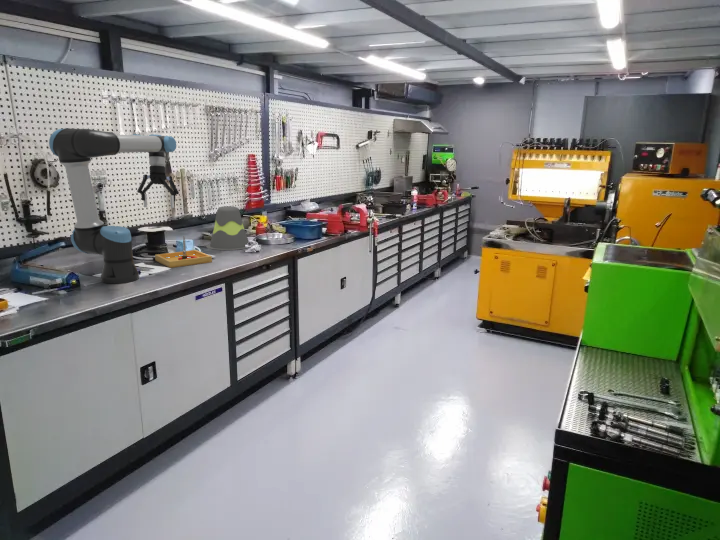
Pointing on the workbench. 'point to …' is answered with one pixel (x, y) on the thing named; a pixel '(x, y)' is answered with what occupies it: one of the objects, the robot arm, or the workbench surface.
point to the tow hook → (185, 251)
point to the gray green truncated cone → (228, 230)
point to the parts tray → (175, 262)
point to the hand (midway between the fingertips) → (159, 207)
